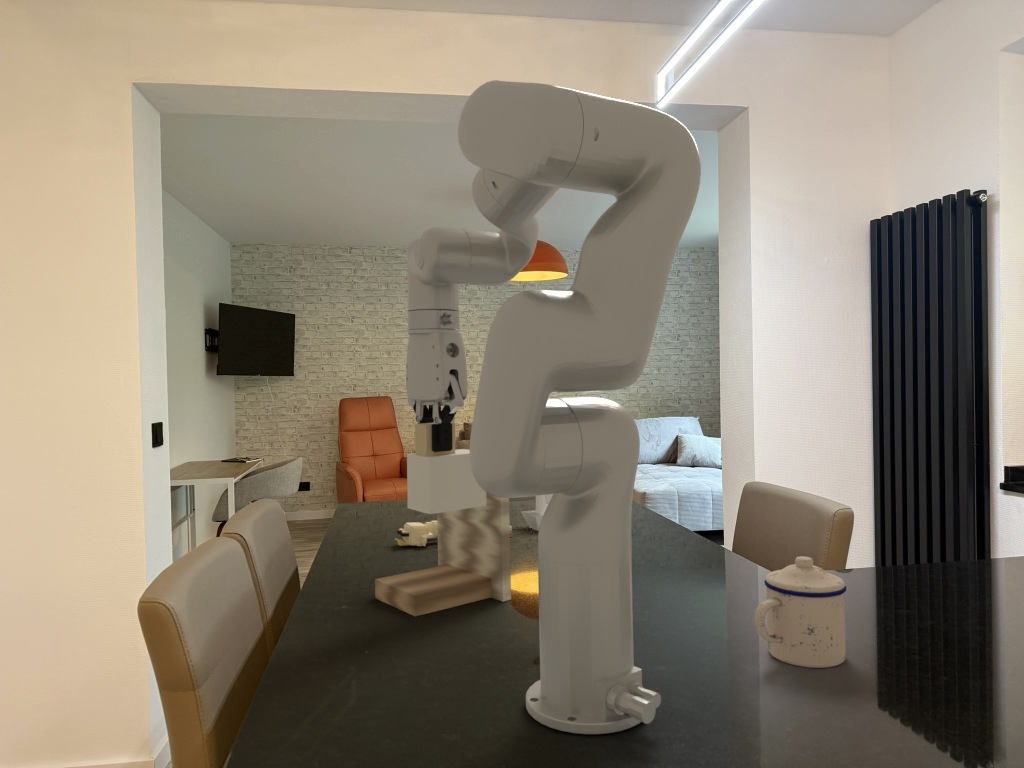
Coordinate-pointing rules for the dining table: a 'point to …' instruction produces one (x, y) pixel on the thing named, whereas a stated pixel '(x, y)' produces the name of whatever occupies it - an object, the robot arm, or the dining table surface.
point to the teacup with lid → (804, 615)
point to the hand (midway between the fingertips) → (435, 448)
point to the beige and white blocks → (440, 476)
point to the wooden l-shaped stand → (458, 563)
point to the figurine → (537, 511)
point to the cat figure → (420, 533)
